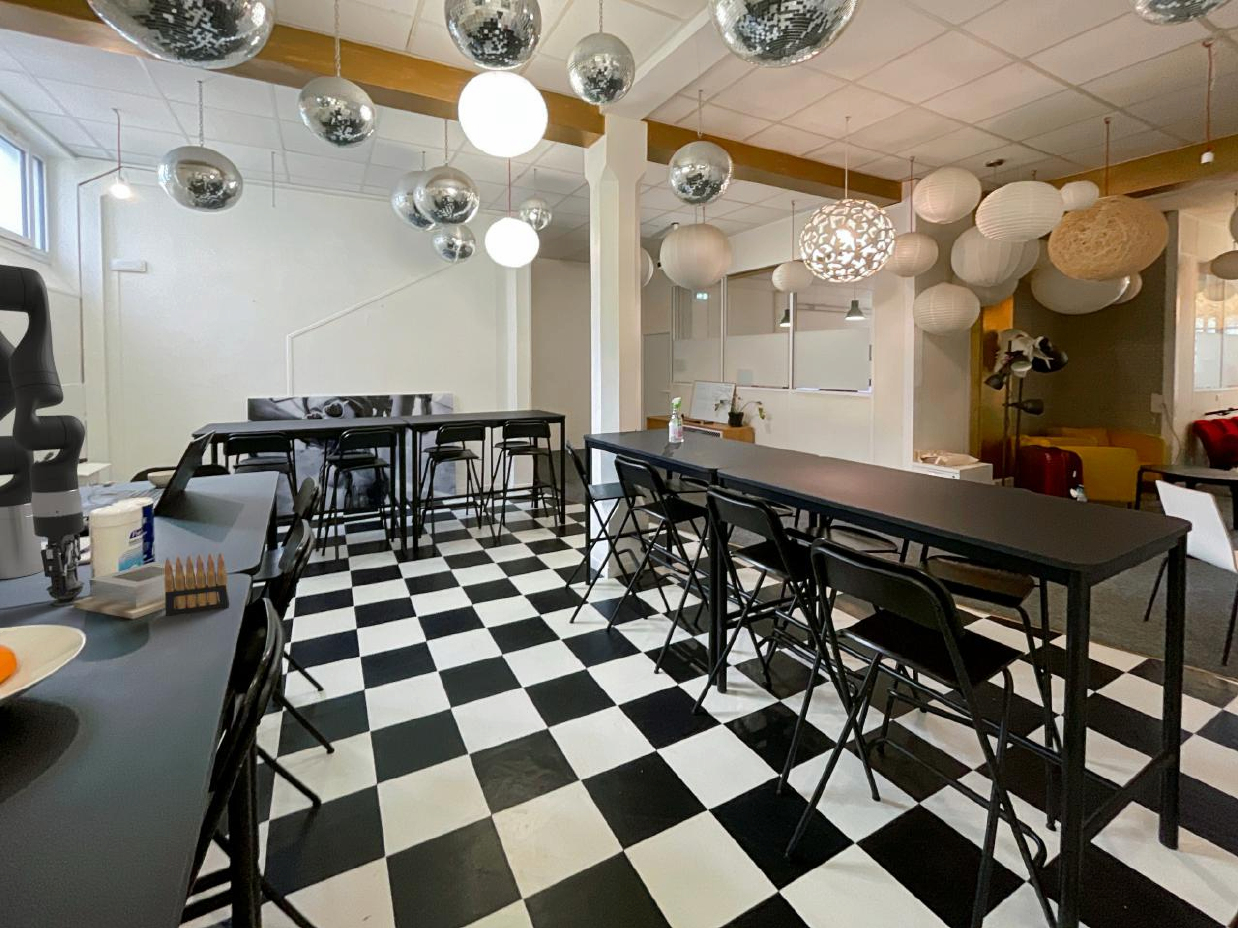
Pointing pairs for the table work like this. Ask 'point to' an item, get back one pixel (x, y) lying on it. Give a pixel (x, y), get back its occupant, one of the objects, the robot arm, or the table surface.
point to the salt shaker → (73, 589)
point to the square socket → (133, 585)
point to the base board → (119, 608)
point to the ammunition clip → (195, 587)
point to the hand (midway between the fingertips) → (65, 588)
